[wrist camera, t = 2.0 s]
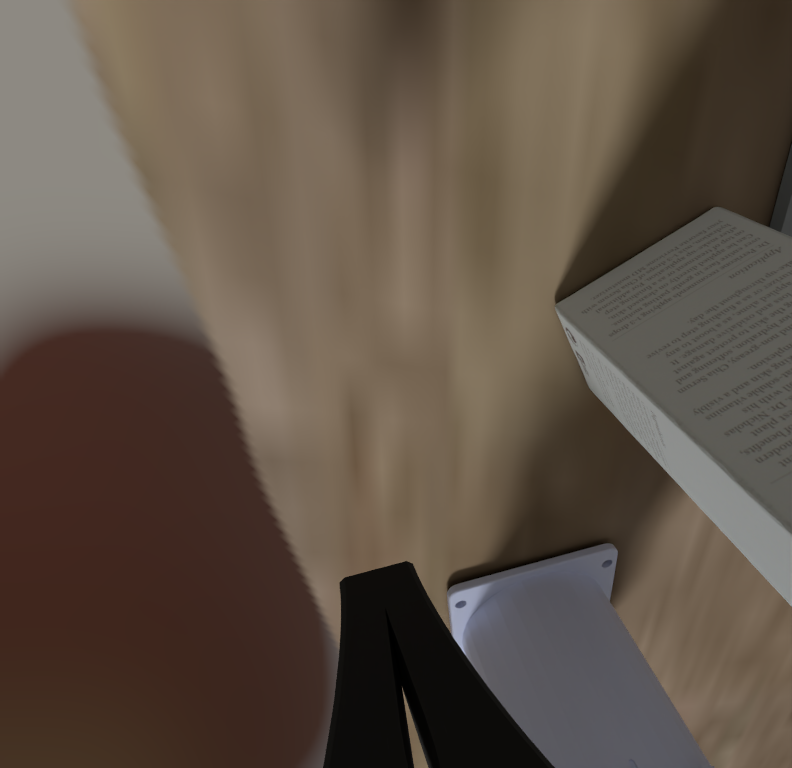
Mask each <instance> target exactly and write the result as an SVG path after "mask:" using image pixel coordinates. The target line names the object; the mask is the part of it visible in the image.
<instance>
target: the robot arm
mask: <svg viewBox="0 0 792 768" xmlns="http://www.w3.org/2000/svg"><path fill="white" fill-rule="evenodd" d="M617 556H618V551H617V549H616V548H615V546H614V545H613V544H611V543H605V544H601V545H598V546H594V547H590V548H587V549H583V550H579V551H576V552H572V553H568V554H565V555H561V556H557V557H554V558H550V559H546V560H543V561H539V562H536V563H532V564H528V565H525V566H521V567H517V568H514V569H510V570H506V571H503V572H499V573H495V574H492V575H488V576H484V577H481V578H477V579H473V580H470V581H466V582H462V583H459V584H456V585H453V586H452V587H450V589H449V590H448V591H447V599H448V609H449V618H450V628H451V633H450V632H449V630H448V628H447V627H446V625H445V624H444V622H443V620H442V619H441V617H440V615H439V614H438V612H437V611H436V609H435V607H434V606H433V604H432V602H431V600H430V598H429V597H428V595H427V593H426V591H425V589H424V587H423V585H422V583H421V581H420V579H419V577H418V575H417V573H416V571H415V568H414V566H413V564H412V563H410V562H407V561H405V562H402V563H398V564H394V565H390V566H387V567H383V568H379V569H375V570H371V571H368V572H364V573H360V574H356V575H353V576H349V577H345V578H344V579H343V580H342V581H341V582H340V593H341V635H340V651H339V662H338V671H337V680H336V689H335V699H334V705H333V712H332V718H331V725H330V730H329V736H328V743H327V749H326V755H325V761H324V766H323V768H414V764H413V758H412V751H411V744H410V738H409V731H408V724H407V718H406V711H405V705H404V698H403V691H404V694H405V697H406V700H407V703H408V706H409V709H410V712H411V715H412V718H413V721H414V724H415V728H416V731H417V734H418V737H419V740H420V743H421V746H422V749H423V752H424V755H425V758H426V761H427V764H428V767H429V768H714V766H711V765H710V763H709V762H708V760H707V758H706V757H705V755H704V754H703V752H702V750H701V749H700V747H699V745H698V744H697V742H696V741H695V739H694V737H693V736H692V734H691V732H690V731H689V729H688V728H687V726H686V724H685V723H684V721H683V720H682V718H681V716H680V715H679V713H678V711H677V710H676V708H675V707H674V705H673V703H672V702H671V700H670V698H669V697H668V695H667V694H666V692H665V690H664V689H663V687H662V685H661V684H660V682H659V681H658V679H657V677H656V676H655V674H654V672H653V671H652V669H651V668H650V666H649V664H648V663H647V661H646V659H645V658H644V656H643V655H642V653H641V651H640V650H639V648H638V646H637V645H636V643H635V642H634V640H633V638H632V637H631V635H630V633H629V632H628V630H627V629H626V627H625V625H624V624H623V622H622V621H621V619H620V617H619V616H618V614H617V612H616V611H615V609H614V608H613V606H612V604H611V603H610V597H611V591H612V586H613V580H614V574H615V568H616V562H617ZM402 688H403V691H402Z"/></svg>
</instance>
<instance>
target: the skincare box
mask: <svg viewBox="0 0 792 768" xmlns="http://www.w3.org/2000/svg"><path fill="white" fill-rule="evenodd" d="M555 310H556V312H557V314H558V317H559V319H560V321H561V324H562V326H563V328H564V331H565V333H566V335H567V338H568V340H569V343H570V345H571V347H572V349H573V351H574V354H575V356H576V358H577V360H578V362H579V365H580V367H581V370H582V372H583V374H584V377H585V379H586V382H587V384H588V386H589V388H590V390H591V391H592V392H593V393H594V394H595V395H596V396H597V397H598V398H599V400H600V401H601V402H602V403H603V404H604V405H605V406H606V407H607V408H608V409H609V410H610V411H611V412H612V413H613V414H614V416H615V417H616V418H617V419H618V420H619V421H620V422H621V423H622V424H623V425H624V426H625V428H626V429H627V430H628V431H629V432H630V433H631V434H632V435H633V436H634V437H635V438H636V440H637V441H638V442H639V443H640V444H641V445H642V446H643V447H644V448H645V449H646V450H647V451H648V452H649V453H650V455H651V456H652V457H653V458H654V459H655V460H656V461H657V462H658V463H659V464H660V465H661V466H662V467H663V469H664V470H665V471H666V472H667V473H668V474H669V475H670V476H671V477H672V478H673V479H674V480H675V481H676V482H677V484H678V485H679V486H680V487H681V488H682V489H683V490H684V491H685V492H686V493H687V494H688V495H689V496H690V498H691V499H692V500H693V501H694V502H695V503H696V504H697V505H698V506H699V507H700V508H701V509H702V511H703V512H704V513H705V514H706V515H707V516H708V517H709V518H710V519H711V520H712V521H713V522H714V523H715V524H716V525H717V526H718V527H719V529H720V530H721V531H722V532H723V533H724V534H725V535H726V536H727V537H728V538H729V539H730V540H731V542H732V543H733V544H734V545H735V546H736V547H737V548H738V549H739V550H740V551H741V552H742V553H743V554H744V555H745V557H746V558H747V559H748V560H749V561H750V562H751V563H752V564H753V565H754V567H755V568H756V569H757V570H758V571H759V572H760V573H761V574H762V575H763V576H764V577H765V578H766V579H767V580H768V581H769V583H770V584H771V585H772V586H773V587H774V588H775V589H776V590H777V591H778V592H779V593H780V594H781V595H782V596H783V598H784V599H785V600H786V601H787V602H788V603H789V604H790V605H791V606H792V237H790V236H788V235H786V234H783V233H781V232H778V231H776V230H774V229H771V228H769V227H767V226H764V225H762V224H760V223H757V222H755V221H753V220H750V219H748V218H746V217H743V216H741V215H739V214H736V213H734V212H731V211H729V210H727V209H724V208H721V207H714V208H712V209H711V210H709V211H708V212H706V213H704V214H703V215H701V216H700V217H698V218H697V219H695V220H693V221H692V222H690V223H688V224H687V225H685V226H684V227H682V228H680V229H679V230H677V231H675V232H674V233H672V234H670V235H669V236H667V237H666V238H664V239H662V240H661V241H659V242H657V243H656V244H654V245H652V246H651V247H649V248H647V249H646V250H644V251H643V252H641V253H639V254H638V255H636V256H635V257H633V258H631V259H630V260H628V261H626V262H625V263H623V264H621V265H620V266H618V267H616V268H615V269H613V270H612V271H610V272H608V273H607V274H605V275H603V276H602V277H600V278H599V279H597V280H595V281H594V282H592V283H590V284H588V285H587V286H585V287H584V288H582V289H580V290H579V291H577V292H576V293H574V294H572V295H571V296H569V297H567V298H566V299H564V300H562V301H560V302H559V303H557V304H556V305H555Z"/></svg>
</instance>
